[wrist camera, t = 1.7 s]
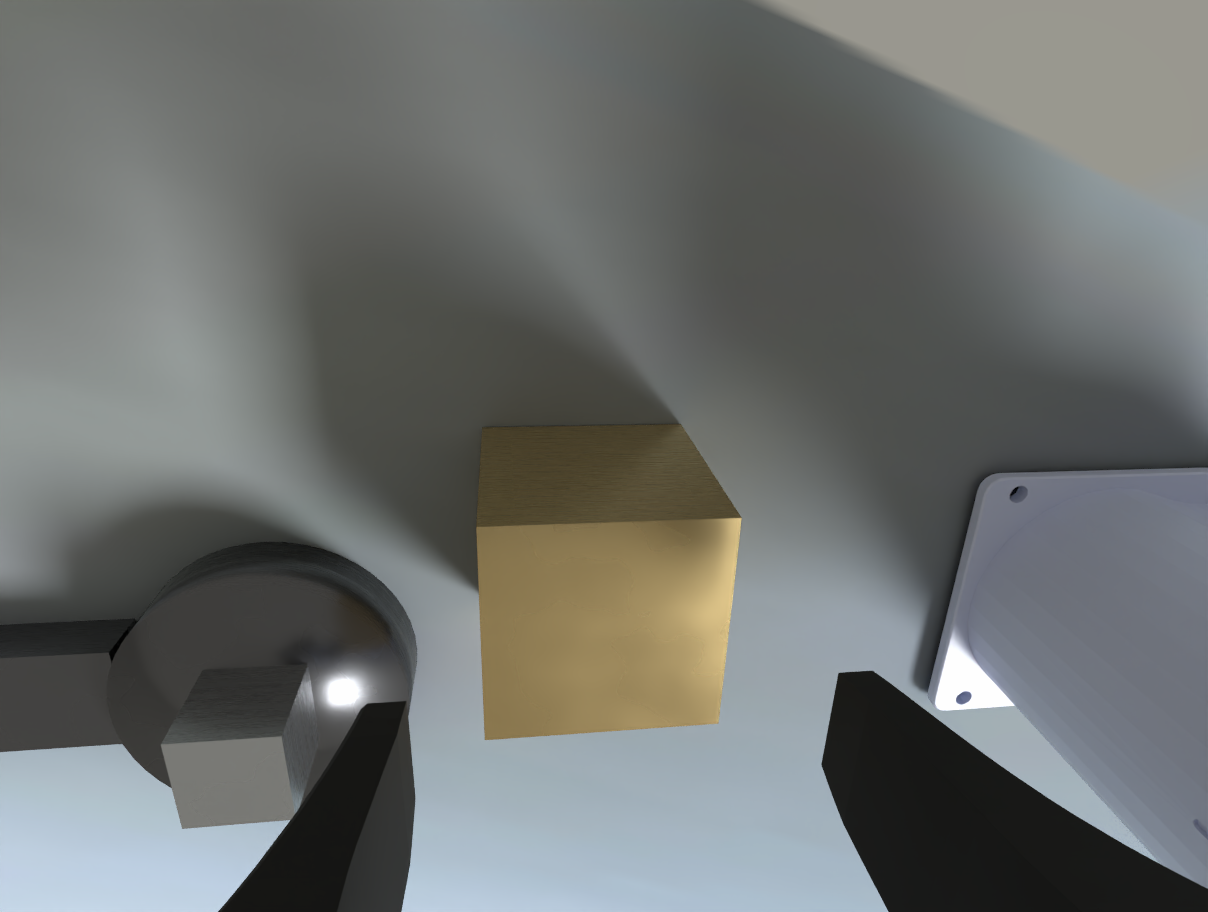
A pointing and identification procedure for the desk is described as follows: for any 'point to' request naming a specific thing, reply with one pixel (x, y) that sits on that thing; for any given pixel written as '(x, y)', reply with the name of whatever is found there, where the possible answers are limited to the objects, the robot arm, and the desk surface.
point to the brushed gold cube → (601, 580)
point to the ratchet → (218, 678)
